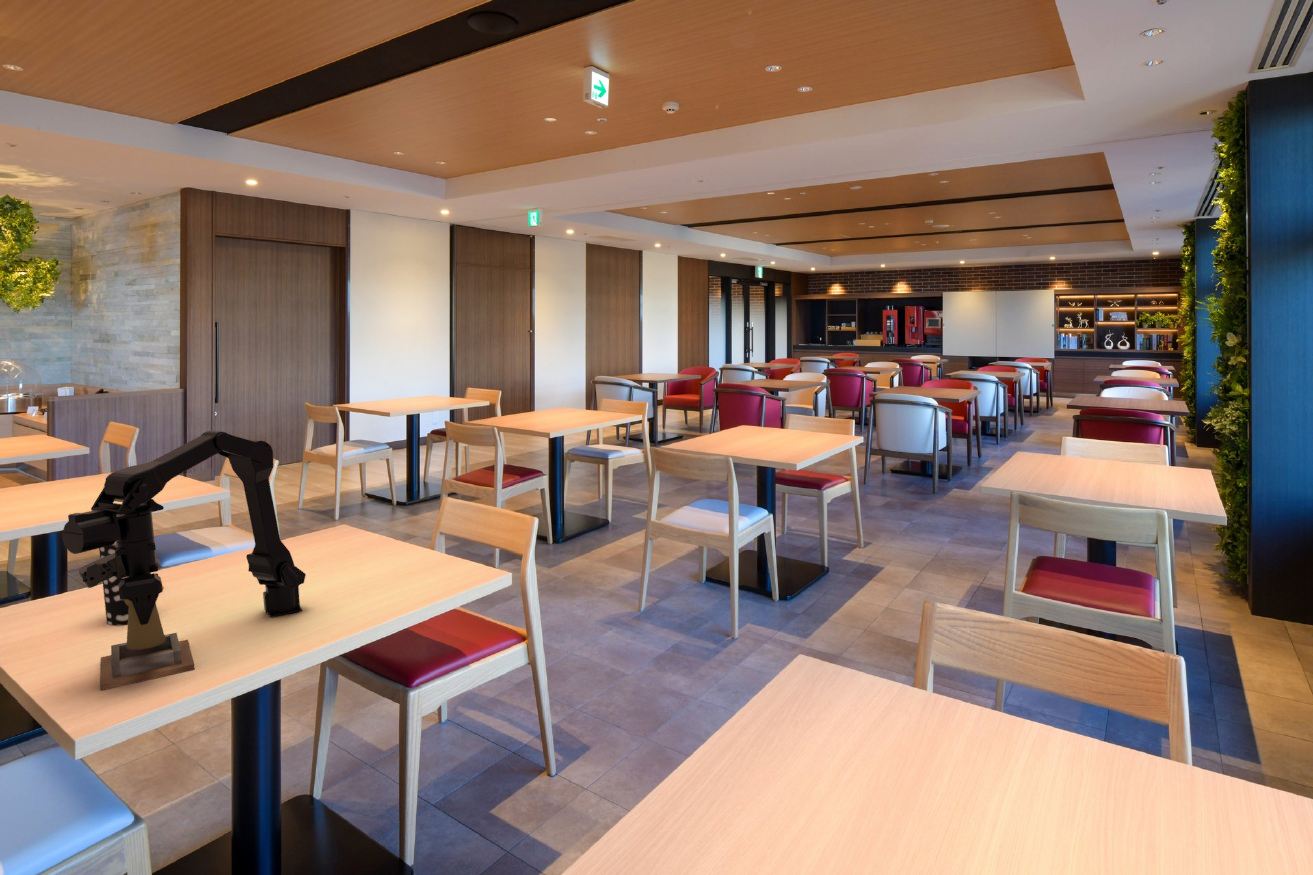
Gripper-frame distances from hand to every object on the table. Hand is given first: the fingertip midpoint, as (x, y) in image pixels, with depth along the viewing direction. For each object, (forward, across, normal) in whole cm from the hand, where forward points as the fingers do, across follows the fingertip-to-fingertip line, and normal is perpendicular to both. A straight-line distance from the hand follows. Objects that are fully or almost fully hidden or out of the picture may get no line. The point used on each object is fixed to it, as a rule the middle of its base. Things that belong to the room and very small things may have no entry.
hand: (143, 620), depth 137 cm
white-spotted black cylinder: (+9, -31, -2) cm, 32 cm away
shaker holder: (+9, 0, 0) cm, 9 cm away
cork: (+5, 0, 0) cm, 5 cm away
